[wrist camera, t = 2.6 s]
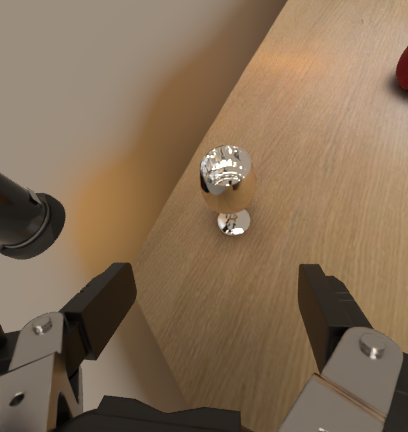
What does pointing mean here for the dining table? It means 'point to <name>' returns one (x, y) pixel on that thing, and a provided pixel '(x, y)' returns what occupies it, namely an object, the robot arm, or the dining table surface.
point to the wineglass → (228, 186)
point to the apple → (403, 70)
